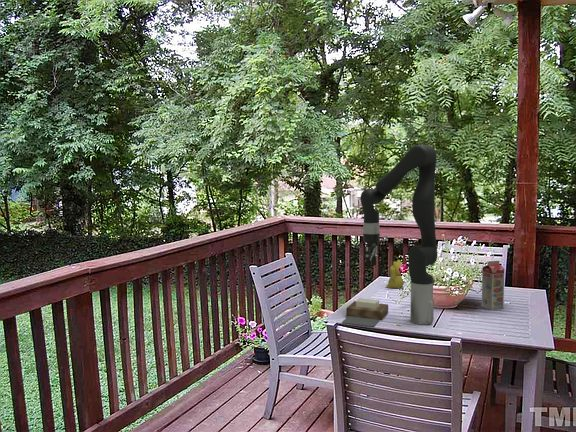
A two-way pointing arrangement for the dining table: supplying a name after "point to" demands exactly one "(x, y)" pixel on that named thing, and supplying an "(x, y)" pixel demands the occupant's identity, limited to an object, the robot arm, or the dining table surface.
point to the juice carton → (493, 286)
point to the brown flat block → (367, 311)
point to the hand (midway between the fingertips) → (371, 266)
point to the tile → (367, 303)
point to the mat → (360, 321)
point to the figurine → (395, 276)
